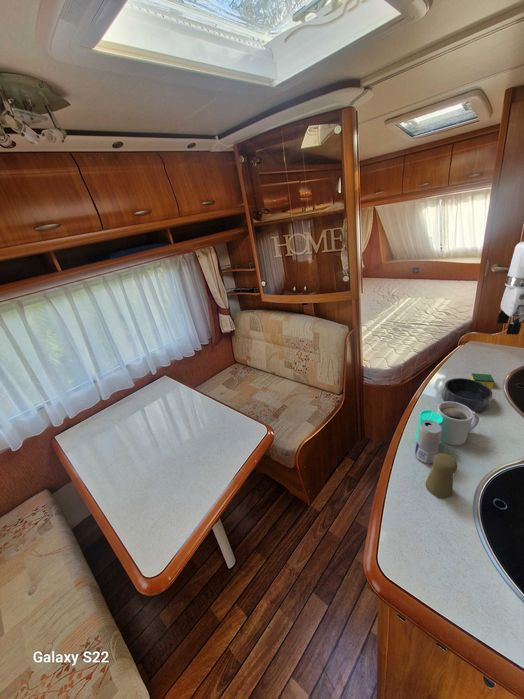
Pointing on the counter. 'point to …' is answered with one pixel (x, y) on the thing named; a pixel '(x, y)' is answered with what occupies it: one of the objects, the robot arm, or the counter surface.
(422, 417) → the candle
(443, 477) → the cork
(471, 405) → the bowl
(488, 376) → the sponge
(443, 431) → the mug
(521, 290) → the robot arm
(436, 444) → the energy drink
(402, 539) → the counter surface
